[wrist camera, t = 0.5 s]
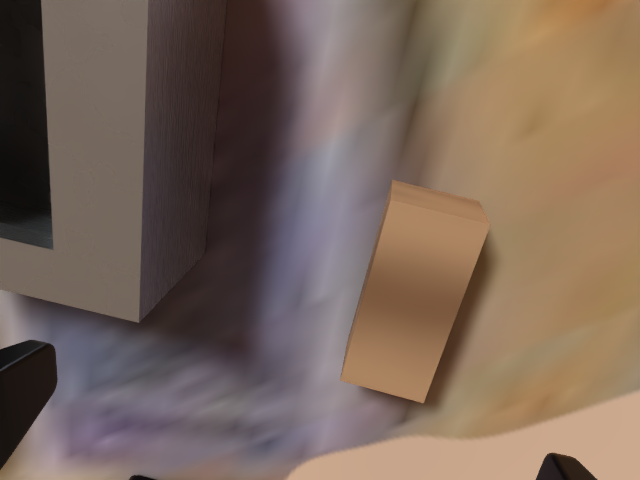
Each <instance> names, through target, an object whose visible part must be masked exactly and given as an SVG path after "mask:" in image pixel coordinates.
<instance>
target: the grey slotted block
mask: <svg viewBox="0 0 640 480" xmlns="http://www.w3.org/2000/svg"><path fill="white" fill-rule="evenodd" d="M226 8H227V0H0V289H2V290H6V291H10V292H14V293H18V294H22V295H26V296H30V297H35V298H39V299H43V300H47V301H51V302H55V303H59V304H63V305H68V306H72V307H76V308H80V309H84V310H88V311H92V312H96V313H100V314H105V315H109V316H113V317H117V318H121V319H125V320H129V321H133V322H138V323H139V322H140V321H141V320H142V319H143V318H144V317H145V316H146V315H147V314H148V313H149V312H150V311H151V310H152V309H153V308H154V307H155V306H156V304H157V303H158V302H159V301H160V300H161V299H162V298H163V297H164V296H165V295H166V294H167V293H168V292H169V291H170V290H171V289H172V288H173V287H174V286H175V285H176V284H177V282H178V281H179V280H180V279H181V278H182V277H183V276H184V275H185V274H186V273H187V272H188V271H189V270H190V269H191V268H192V267H193V266H194V265H195V264H196V263H197V261H198V260H199V259H200V258H201V257H202V256H203V255H204V254H205V251H206V239H207V227H208V216H209V204H210V193H211V181H212V170H213V158H214V146H215V135H216V123H217V112H218V100H219V89H220V77H221V65H222V54H223V42H224V31H225V19H226Z"/></svg>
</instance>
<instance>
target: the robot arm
mask: <svg viewBox="0 0 640 480" xmlns="http://www.w3.org/2000/svg"><path fill="white" fill-rule="evenodd" d="M56 385H57V366H56V352H55V348H54V346H53V345H51V344H50V343H46V342H41V341H36V340H28V341H25V342H22V343H19V344H16V345H12V346H9V347H6V348H3V349H0V470H1V468H2V467H3V466H4V464H5V463H6V462H7V460H8V459H9V457H10V456H11V455H12V453H13V452H14V450H15V449H16V447H17V446H18V444H19V443H20V441H21V440H22V439H23V437H24V436H25V434H26V433H27V431H28V430H29V428H30V427H31V425H32V424H33V422H34V421H35V419H36V418H37V416H38V415H39V414H40V412H41V411H42V409H43V408H44V406H45V405H46V403H47V402H48V400H49V399H50V397H51V396H52V394H53V393H54V391H55V388H56ZM129 480H152V479H148V478H145V477H141V476H136V475H134V476H131V477H130V479H129ZM536 480H597V479H596V478H595V477H594V476H593V475H592V474H591V473H590V472H589V471H588V470H587V469H586V468H585V467H584V466H583V465H582V464H581V463H580V462H579V461H577V460H576V459H575V458H573V457H570V456H566V455H561V454H557V453H549V454H547V456H546V457H545V459H544V461H543V464H542V466H541V468H540V470H539V473H538V475H537V478H536Z"/></svg>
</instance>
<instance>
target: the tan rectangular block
mask: <svg viewBox="0 0 640 480" xmlns="http://www.w3.org/2000/svg"><path fill="white" fill-rule="evenodd" d="M489 227H490V222H489V220H488V218H487V216H486V214H485V212H484V210H483V208H482V206H481V204H480V202H479V201H476V200H472V199H468V198H464V197H460V196H456V195H452V194H448V193H444V192H440V191H436V190H431V189H427V188H423V187H419V186H415V185H411V184H407V183H403V182H399V181H395V180H392V183H391V186H390V190H389V194H388V197H387V201H386V204H385V208H384V212H383V215H382V219H381V222H380V226H379V230H378V233H377V237H376V240H375V244H374V248H373V251H372V255H371V259H370V262H369V266H368V269H367V273H366V277H365V280H364V284H363V287H362V291H361V295H360V298H359V302H358V306H357V309H356V313H355V316H354V320H353V324H352V327H351V331H350V334H349V338H348V342H347V346H346V352H345V357H344V362H343V368H342V373H341V379H340V380H341V381H344V382H348V383H352V384H355V385H359V386H362V387H366V388H370V389H373V390H377V391H381V392H384V393H388V394H392V395H395V396H399V397H402V398H406V399H410V400H413V401H417V402H421V403H424V401H425V398H426V395H427V393H428V390H429V387H430V385H431V382H432V379H433V377H434V374H435V371H436V369H437V366H438V363H439V361H440V358H441V355H442V353H443V350H444V347H445V345H446V342H447V339H448V337H449V334H450V331H451V329H452V326H453V323H454V321H455V318H456V315H457V313H458V310H459V307H460V305H461V302H462V299H463V297H464V294H465V291H466V289H467V286H468V283H469V281H470V278H471V275H472V273H473V270H474V267H475V265H476V262H477V259H478V257H479V254H480V251H481V249H482V246H483V243H484V241H485V238H486V235H487V233H488V230H489Z"/></svg>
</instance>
